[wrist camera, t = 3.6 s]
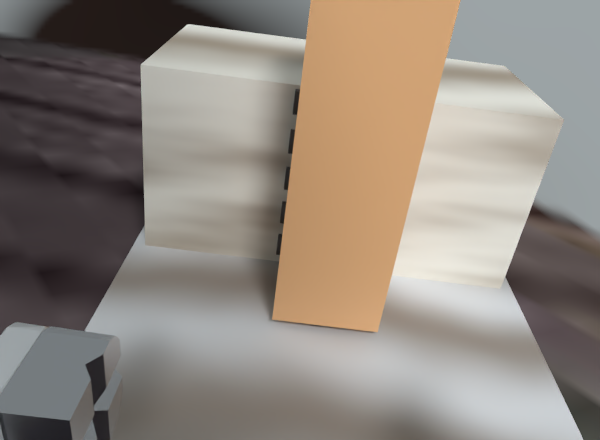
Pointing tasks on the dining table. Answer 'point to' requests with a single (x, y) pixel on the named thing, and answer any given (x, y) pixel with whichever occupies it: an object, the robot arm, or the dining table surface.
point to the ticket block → (266, 253)
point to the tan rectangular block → (357, 154)
